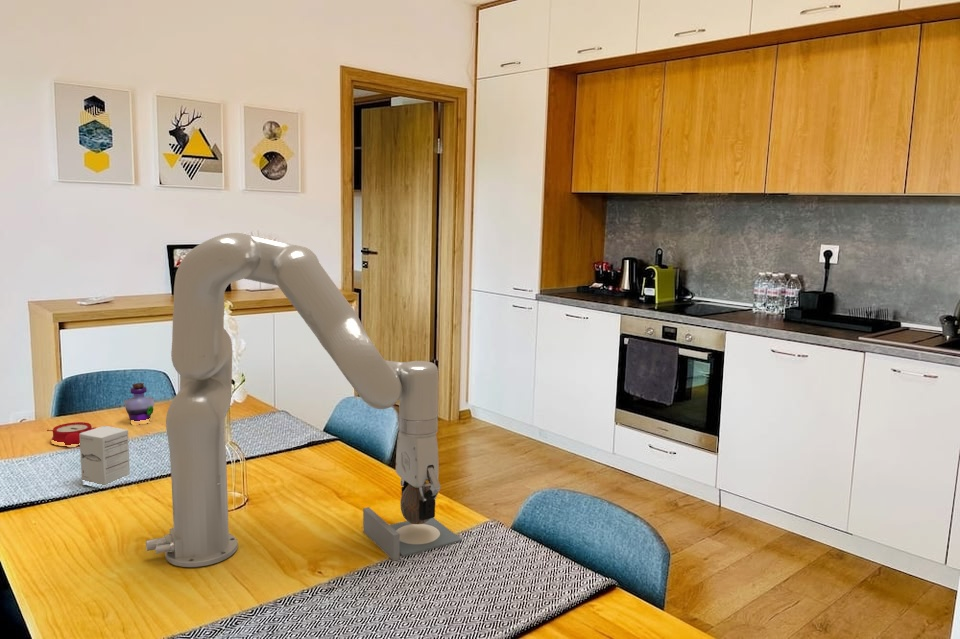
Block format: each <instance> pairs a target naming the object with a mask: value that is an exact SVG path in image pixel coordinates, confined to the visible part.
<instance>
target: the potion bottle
mask: <svg viewBox="0 0 960 639" xmlns="http://www.w3.org/2000/svg"><path fill="white" fill-rule="evenodd" d="M144 384H145V383H143V382H137V383H133V384H132V387H131V388H130V394H132V395H133V397H130V398H127V399H124V400H123V404H124V407H125V410H126V413H127V416H128V417H129V421H130V420H134V421H140V420H146V419H149V418H150V419H151V416H152V414H153V413H154V405H155V399H154V397H151V396H150V397H149V396H145V393H148V392H147V387H146V386H145V385H144Z"/></svg>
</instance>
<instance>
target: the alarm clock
mask: <svg viewBox="0 0 960 639" xmlns="http://www.w3.org/2000/svg"><path fill="white" fill-rule="evenodd" d="M95 428H96V427H92V424H91V423H89V422H82V421H77V422H67V423H62V424H58V425H56V426H54V427H53V428H52V429H47V430H46V431H47V432H52V438H51V440H54V441H57V442H64V443H65V445H71V444H79V443H80V436H79V434H80V433H82V432H86V431H89V430H92V429H95Z"/></svg>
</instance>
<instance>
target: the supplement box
mask: <svg viewBox="0 0 960 639" xmlns="http://www.w3.org/2000/svg"><path fill="white" fill-rule="evenodd" d="M94 428H95V429H92V430H89V431H86V432H82V433H80V434H79V436H80V446H79V451H80V452H79V453H80V468H81V469H80V471H81V481H82V480H85V481H89V482H94V483H97V484H102V485H106V484H108V483H111V482H113V481H115V480H117V479H120V478H122V477H124V476H127V475H129V474H130V475H131V471H130V470H131V468H130V450H129V449H130V448H129V446H130V445H129V429H124V428H120V427H115V426H114V427H113V426H108V425H102V426H99V427H94Z"/></svg>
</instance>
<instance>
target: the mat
mask: <svg viewBox="0 0 960 639" xmlns="http://www.w3.org/2000/svg"><path fill="white" fill-rule="evenodd" d="M389 525H390V526H391V527H392V528H393V529H394V530H396V531H397V532H398V533H399V534H400V543H399V556H400V557H402V558H404V557H408V556H412V555H416V554H420V553H424V552H427V551H426V550H428V551H431V550H434V549H433V548H435V549H439V548H442V547H441V546H443V547H446V546H445V545H447V546H449V544H450V545H453V544H452V543H454V544H456V543H455V542H458V543H461V542H460V541H462V542H463V539H462V538H461V537H460V536H458V535H456V534H455V533H454V532H453V531H451V529H449V528H448V527H446V526H445V525H444V524H442V523H441V522H440V521H439V520H438V519H436V518H435V517H434V518H430V519H429V520H428V521H427V522H426V523H424V524H411V523H409V522H408V521H407V520H405V521H404V520H403V521H401V522H396V523H392V524H389ZM438 547H439V548H438ZM430 549H431V550H430ZM423 551H424V552H423Z"/></svg>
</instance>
